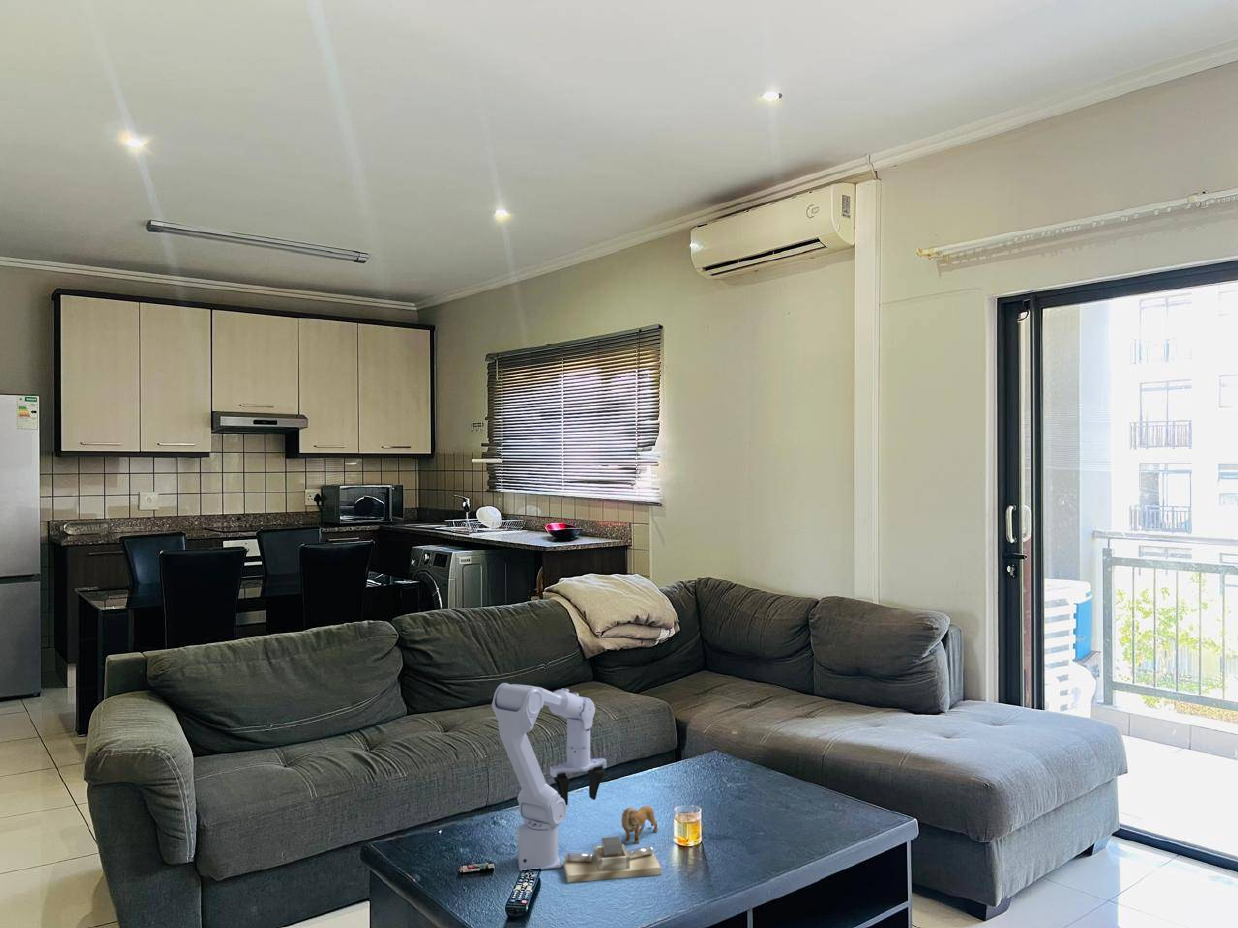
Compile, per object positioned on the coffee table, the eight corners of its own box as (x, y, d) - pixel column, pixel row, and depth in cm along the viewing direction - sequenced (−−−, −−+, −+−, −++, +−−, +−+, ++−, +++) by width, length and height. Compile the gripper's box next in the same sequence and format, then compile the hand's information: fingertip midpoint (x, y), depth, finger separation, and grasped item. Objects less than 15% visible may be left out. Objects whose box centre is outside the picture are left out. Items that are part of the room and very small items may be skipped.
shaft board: (568, 882, 193) (568, 864, 193) (562, 864, 201) (562, 846, 201) (661, 874, 196) (661, 856, 196) (652, 856, 205) (652, 839, 205)
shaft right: (628, 860, 200) (628, 852, 200) (625, 857, 201) (625, 849, 201) (655, 855, 203) (655, 847, 203) (651, 852, 204) (651, 844, 204)
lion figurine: (636, 850, 209) (636, 812, 209) (616, 846, 211) (616, 809, 211) (661, 828, 222) (661, 792, 222) (642, 824, 224) (642, 789, 224)
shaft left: (594, 860, 200) (594, 852, 200) (593, 863, 198) (593, 855, 198) (564, 859, 201) (564, 851, 201) (563, 862, 199) (563, 854, 199)
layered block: (604, 867, 196) (604, 845, 197) (601, 859, 200) (601, 837, 200) (621, 865, 197) (621, 843, 197) (618, 858, 201) (618, 836, 201)
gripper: (558, 754, 208) (558, 811, 208) (612, 745, 215) (612, 800, 215) (546, 746, 215) (546, 802, 214) (599, 737, 222) (599, 791, 221)
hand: (578, 800), depth 215 cm, fingers open, 7 cm apart
